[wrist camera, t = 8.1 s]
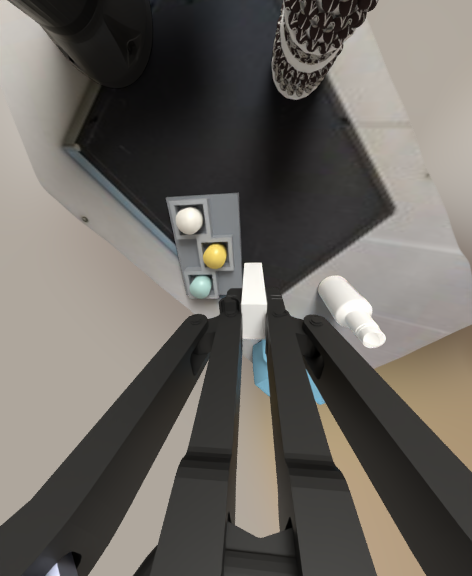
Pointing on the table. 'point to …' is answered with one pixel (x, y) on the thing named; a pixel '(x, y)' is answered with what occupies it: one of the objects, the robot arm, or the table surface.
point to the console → (210, 240)
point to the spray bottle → (351, 310)
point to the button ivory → (190, 220)
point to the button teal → (201, 286)
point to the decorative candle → (312, 41)
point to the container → (262, 372)
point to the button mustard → (215, 255)
